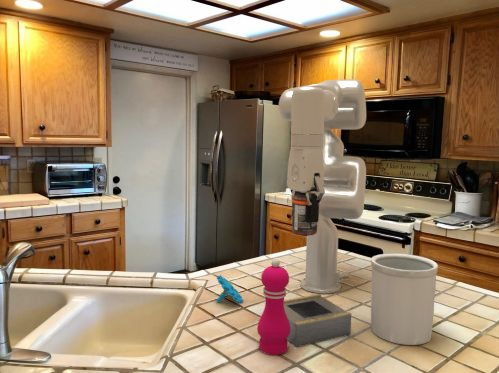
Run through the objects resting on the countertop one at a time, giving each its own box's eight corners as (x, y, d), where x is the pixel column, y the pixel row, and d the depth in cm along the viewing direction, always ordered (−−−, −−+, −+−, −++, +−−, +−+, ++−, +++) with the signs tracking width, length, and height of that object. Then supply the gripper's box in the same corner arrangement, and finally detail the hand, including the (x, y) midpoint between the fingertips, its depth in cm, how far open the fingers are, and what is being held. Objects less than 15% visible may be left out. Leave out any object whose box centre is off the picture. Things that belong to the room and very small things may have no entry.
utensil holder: (355, 324, 104) (358, 255, 102) (401, 315, 110) (405, 250, 108) (397, 352, 91) (402, 274, 89) (447, 340, 97) (453, 266, 95)
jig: (318, 313, 110) (319, 294, 109) (350, 334, 98) (351, 313, 98) (268, 323, 104) (269, 302, 103) (296, 347, 92) (296, 324, 91)
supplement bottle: (296, 229, 103) (297, 183, 101) (319, 232, 100) (321, 185, 99) (288, 234, 97) (289, 186, 96) (313, 237, 95) (314, 188, 93)
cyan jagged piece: (245, 304, 111) (219, 277, 111) (229, 319, 111) (203, 292, 111) (245, 294, 122) (221, 269, 122) (230, 308, 122) (206, 284, 122)
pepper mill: (255, 340, 95) (257, 254, 93) (286, 339, 95) (289, 254, 93) (258, 356, 88) (260, 264, 85) (292, 355, 88) (295, 264, 86)
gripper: (276, 141, 103) (275, 213, 105) (310, 143, 87) (308, 228, 89) (303, 141, 105) (301, 211, 107) (341, 143, 89) (338, 225, 91)
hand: (304, 218), depth 98 cm, fingers closed on supplement bottle, 6 cm apart
